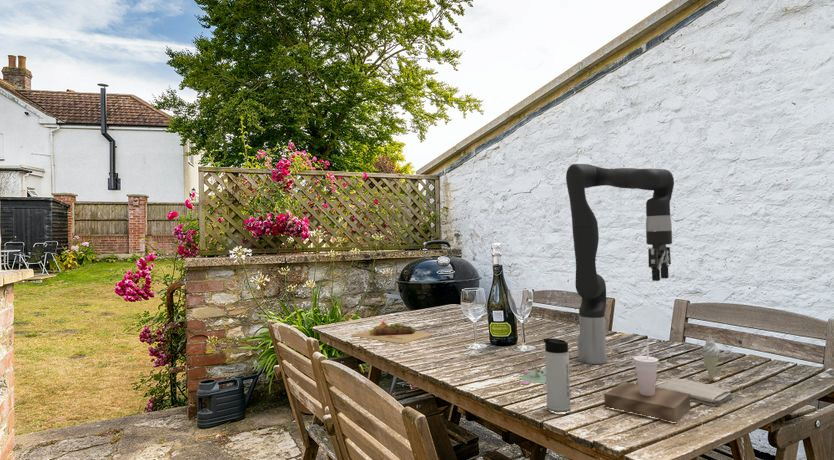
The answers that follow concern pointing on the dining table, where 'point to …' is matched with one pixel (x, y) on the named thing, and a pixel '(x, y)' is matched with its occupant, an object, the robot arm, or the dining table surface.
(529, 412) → the dining table surface
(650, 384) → the smoothie
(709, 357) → the ice cream cone
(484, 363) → the dining table surface
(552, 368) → the travel mug
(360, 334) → the cutting board
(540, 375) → the plant
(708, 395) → the washcloth
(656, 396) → the walnut base
